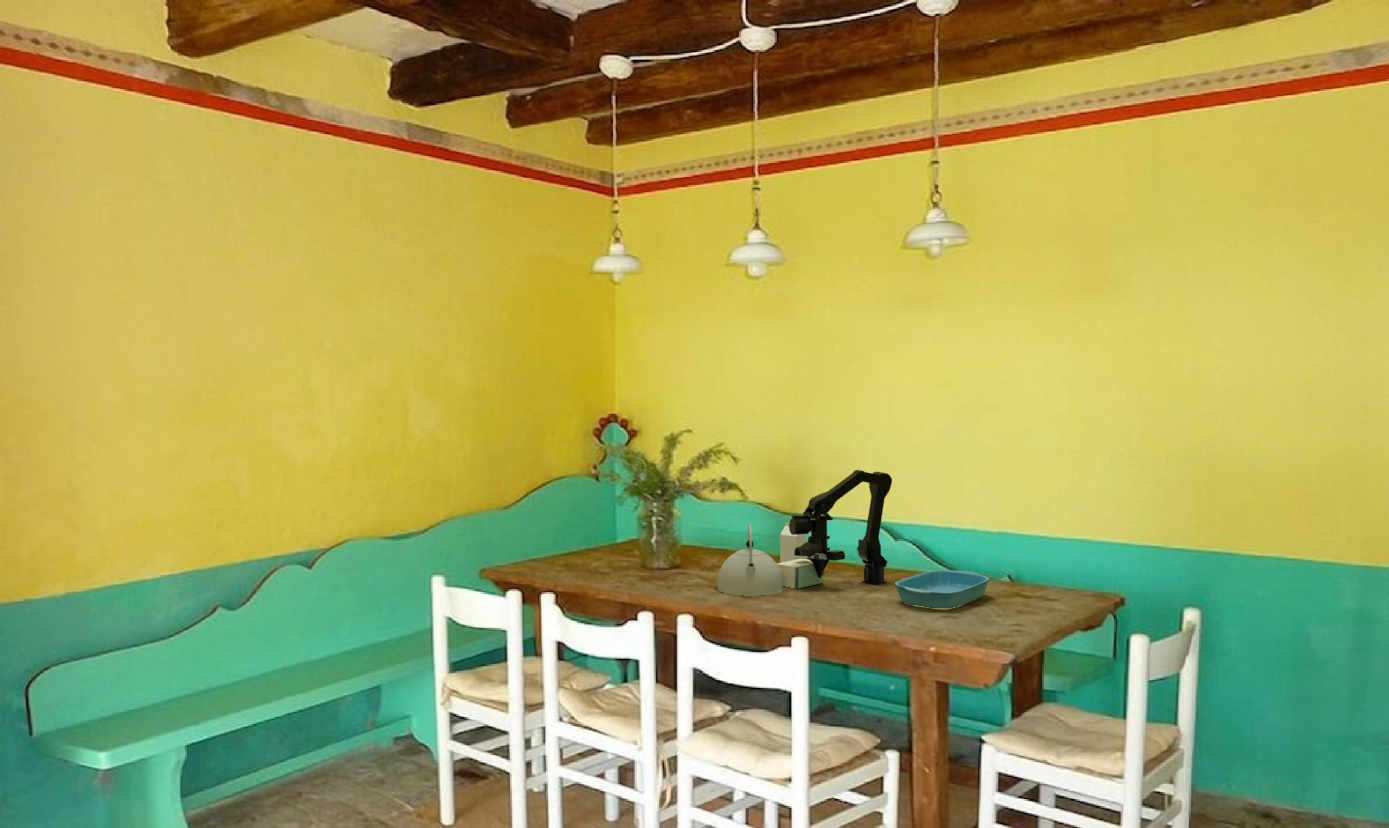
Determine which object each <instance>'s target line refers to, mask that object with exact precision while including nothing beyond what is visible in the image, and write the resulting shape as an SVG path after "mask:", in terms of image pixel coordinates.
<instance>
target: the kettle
mask: <svg viewBox="0 0 1389 828" xmlns="http://www.w3.org/2000/svg"><path fill="white" fill-rule="evenodd" d="M747 528H748V529H747V541H746V544H745V546H746V547H747V548H745V549H744V548H743V549H740V550H737V551H735V552H734V553H733V554H731V555H729V556H728V557H727V558H726V560H724V562H723V563H722V565H721V566H720V569H719V571H718V575H717V589H718V590H717V589H716V590H717V591H718V592H719V593H721V592H723V593H722V594H725V593H726V594H725V595H729V594H730V596H735V595H748V596H747V597H756V596H755V595H767V596H772V595H771V594H773V595H776V594H775V593H777V594H779V593H778V592H780V593H782V592H781V591H783V590H782V588H783V586H782V575H781V572H780V569H779V567H778V565H777V562H776V561H775V559H774V558H773V557H771V556H770V555H769V554H767V553H766V552H765V551H762V550H759V549H756V548H753V547H754V544H755V543H754V541H753V534H752V533H753V531H752V525H751V523H749V524H748V525H747Z"/></svg>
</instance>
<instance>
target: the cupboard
mask: <svg viewBox="0 0 1389 828" xmlns="http://www.w3.org/2000/svg"><path fill="white" fill-rule="evenodd" d="M776 564H777V565H778V567H779V569H780V572H781V575H782V587H783V586H786V587H785V588H788V587H790V589H793V588H798V568H801V567H806V566H810V565H813V563H812V562H811V561H810V560H808V559H807V558H806V559H797V560H792V561H787V562H782V563H780V562H778V563H777V562H776ZM798 589H799V588H798Z"/></svg>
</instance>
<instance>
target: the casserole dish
mask: <svg viewBox="0 0 1389 828" xmlns="http://www.w3.org/2000/svg"><path fill="white" fill-rule="evenodd" d="M989 581H990V578H989V576H986V575H982V574H979V573H976V572H972V571H964V570H952V569H951V570H949V569H936V570H935V569H934V570H928V571H925V572H921V573H918V574H915V575H912V576H909V577H906V578H903V579H900V580H898V581H896V582H894V583H895V587H896V591H897V594H898V595H899V598H900V601H901V602H902V603H904V604H905V603H906V604H910V605H918V606H924V607H929V608H953V607H957V606H959V605H962V606H964V605H963V604H965V603H967V602H969V601H972V602H974V601H976V600H975V599H977V598H978V599H980V598H981V597H982V596H984V594H985V592H986V589H987V587H988V582H989ZM978 599H977V600H978ZM973 600H974V601H973ZM906 604H905V605H906ZM967 604H968V603H967ZM910 605H909V606H910ZM965 605H966V604H965ZM957 608H958V607H957Z"/></svg>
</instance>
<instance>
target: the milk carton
mask: <svg viewBox="0 0 1389 828" xmlns="http://www.w3.org/2000/svg"><path fill="white" fill-rule="evenodd" d="M789 524H790V522H785V523H784V527H783V529H782V530H781V533H780V534H779V535H780V538H779V539H780V540H779V541H780V543H779V545H780V546H779V547H780V549H779V552H780V556H779V558H780V559H779V560H780V561H779V563H782V562H787V561H792V560H797V559H807V556H796V555H794V550H795V548H796V547H800V546H802V545H803V544H804V543H806V542H807V534H799V535H792V534H791V533H790V530H789Z"/></svg>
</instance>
